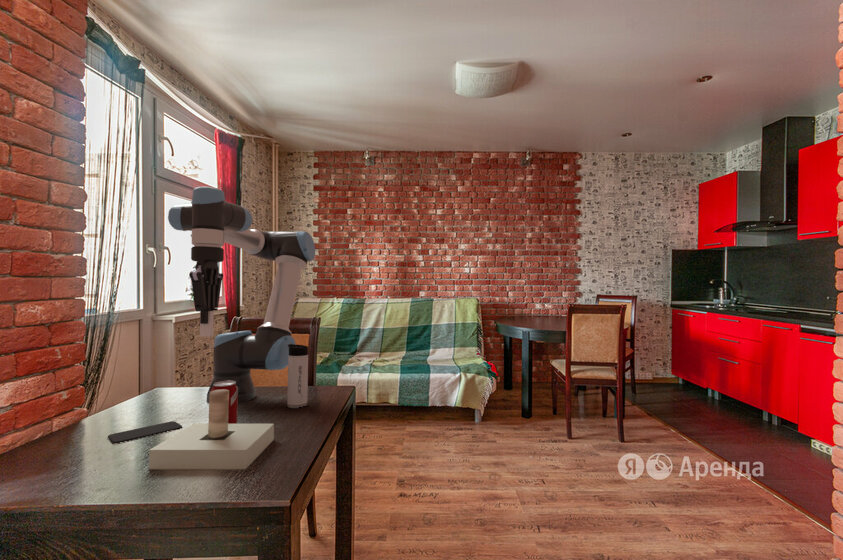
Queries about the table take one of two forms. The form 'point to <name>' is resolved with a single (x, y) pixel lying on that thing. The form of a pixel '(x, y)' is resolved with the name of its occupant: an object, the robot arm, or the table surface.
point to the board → (212, 448)
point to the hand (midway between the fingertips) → (206, 335)
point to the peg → (218, 414)
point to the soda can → (232, 398)
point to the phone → (143, 432)
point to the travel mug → (297, 376)
